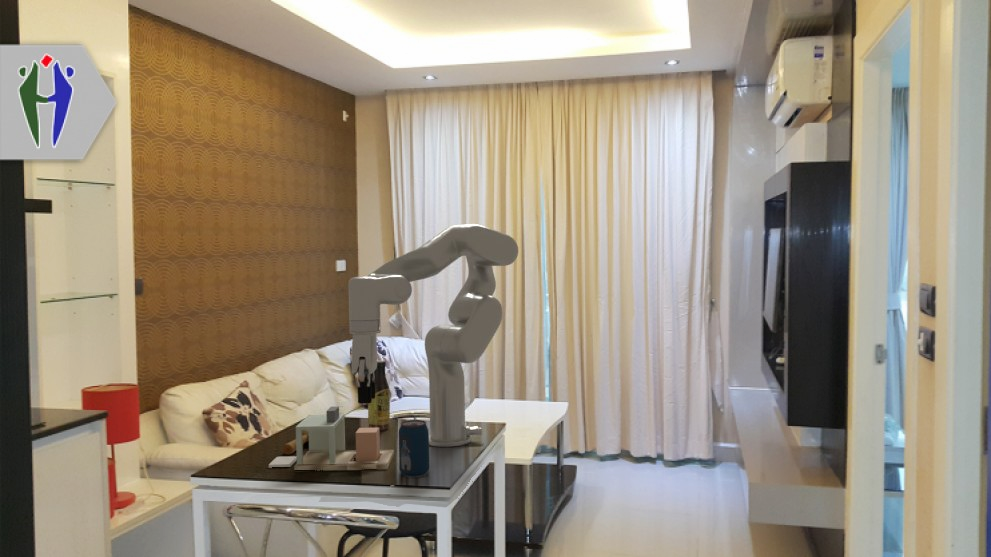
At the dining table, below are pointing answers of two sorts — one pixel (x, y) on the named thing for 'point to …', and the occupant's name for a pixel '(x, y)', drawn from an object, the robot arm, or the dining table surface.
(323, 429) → the pale green table stand
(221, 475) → the dining table surface
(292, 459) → the ceramic trivet
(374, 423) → the sauce bottle
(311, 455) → the puzzle board
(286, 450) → the kendama
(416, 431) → the soda can
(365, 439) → the block
